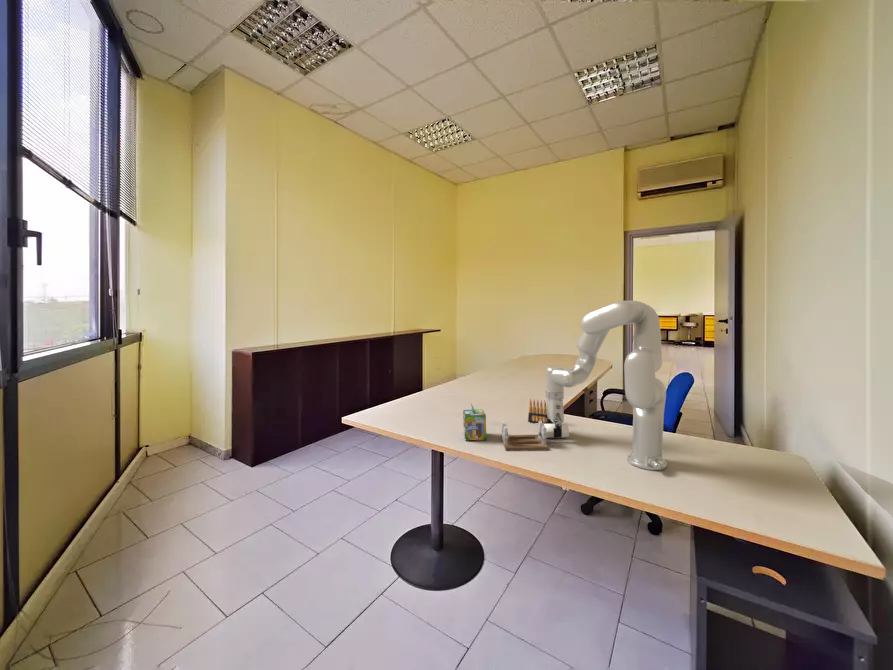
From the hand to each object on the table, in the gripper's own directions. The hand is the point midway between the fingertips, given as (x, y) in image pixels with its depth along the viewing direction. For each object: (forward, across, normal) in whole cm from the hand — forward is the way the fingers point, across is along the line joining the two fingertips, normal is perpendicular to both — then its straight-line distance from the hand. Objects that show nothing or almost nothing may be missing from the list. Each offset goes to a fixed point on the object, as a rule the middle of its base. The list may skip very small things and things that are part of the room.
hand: (554, 433), depth 154 cm
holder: (+2, -7, +15) cm, 17 cm away
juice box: (+2, +1, +35) cm, 35 cm away
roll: (+2, 0, 0) cm, 2 cm away
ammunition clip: (+2, +18, +2) cm, 18 cm away
